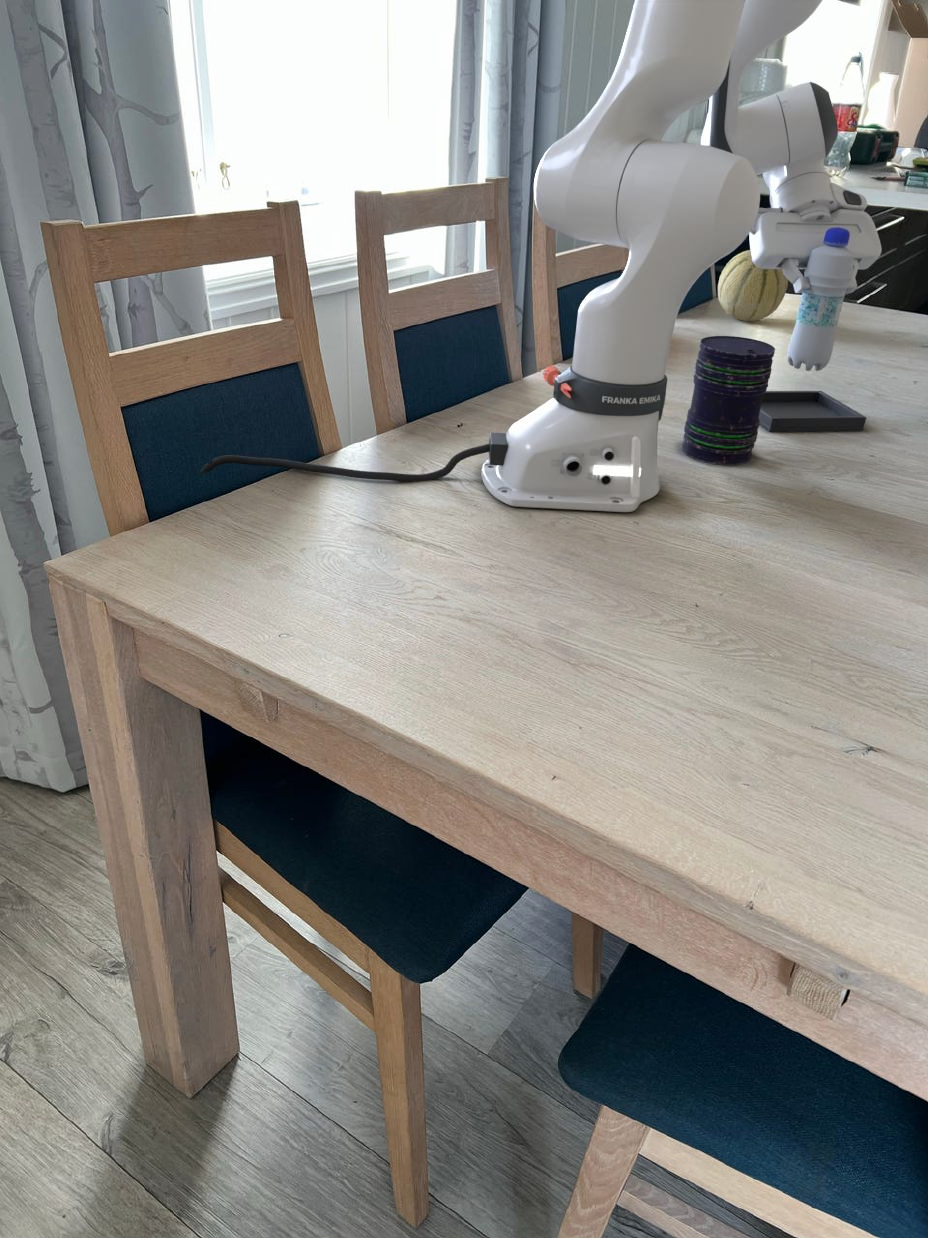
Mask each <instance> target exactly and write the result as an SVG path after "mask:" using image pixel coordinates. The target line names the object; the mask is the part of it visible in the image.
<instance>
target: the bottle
mask: <svg viewBox="0 0 928 1238" xmlns="http://www.w3.org/2000/svg"><path fill="white" fill-rule="evenodd" d="M849 237H850V233H849V231H848V230H847V229H844V228H840V227H835V228H830V229H828V230H827V231H826V233H825V237H824V242H823V243H824V244H825V245H823V246H820V247H818V248H815V249H813V250H812V252H811V255H810V258H809V261H808V264H807V266H806V269H804V272H803V277H808V278H809V283H810V289H809V290H807V292H806V293H801V298H800V303H799V307H798V310H797V316H796V319H795V324H794V328H793V332H792V334H791V338H790V342H789V345H788V350H787V354H786V355H787V362H788V364H789V365H790V366H791V367H794V369H797V370H800V368H801V366H802V364H803V365H805V371H806V372H807V371H808V372H810V371H812V369H813V368H814V370H815V371H816V372H818V371H822V370H823V369H824V368H826V367H827V365H828V364H829V363H830V360H831V358H832V355H833V349H834V344H835V339H836V333H837V329H838V323H839V320H840V315H841V312H842V308H843V304H844V300H845V296H846V293H845V292H846V290H847V289H848V287H849V286H850V285H849V283H850V280H851V278H852V272H853V263H854V253H852V252H851V251H850V250H849V249H847V248H846V247H845V246H847V245H848V242H849Z"/></svg>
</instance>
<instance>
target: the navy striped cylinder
mask: <svg viewBox="0 0 928 1238" xmlns="http://www.w3.org/2000/svg"><path fill="white" fill-rule="evenodd" d="M775 352H776V348H775V347H774V346H773V345H772V344H770V343H768V342H765V341H762V340H759V339H753V338H748V337H743V336H733V335H712V336H711V335H710V336H706V337H703V338H701V339H700V343H699V351H698V354H697V359H696V361H695V366H694V369H695V370H694V374H693V384H694V386H693V391H692V396H691V397H692V398H691V403H690V408H689V409H688V410H687V415H686V420H685V422H684V428H683V432H684V434H683V442H682V445H681V451H682V452H683V454H684V455H686V456H687V457H688V458H689V457H690V459H693V460H696V461H699V462H702V463H707V464H711V465H717V466H718V465H720V466H739V465H744V464H747V463H749V462H750V461H751V460H752V457H753V449H754V448H755V444H756V442H757V439H758V434H759V432H758V430H759V427H760V425H759V422H760V419H759V413H760V408H761V404H762V399H763V395H764V393H765V392H766V391H768V390H767V389H768V388H769V384H768V383H769V379H771V375H772V371H773V370H772V365H773V361H774V360H773V358H774V356H775Z"/></svg>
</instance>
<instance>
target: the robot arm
mask: <svg viewBox="0 0 928 1238" xmlns="http://www.w3.org/2000/svg"><path fill="white" fill-rule="evenodd" d="M822 2H823V0H634V1H633V6H632V11H631V15H630V18H629V21H628V22H629V23H628V26H627V30H626V34H625V37H624V41H623V44H622V47H621V51H620V54H619V57H618V59H617V63H616V64H615V65H616V66H615V68H614V71H613V73H612V75H611V77H610V79H609V81H608V83H607V85H606V87H605V89H604V90H603V92H602V94H601V95H600V97H599V98H598V99H597V101H596V102H595V104H594V105H593V106H592V108H591V109H590V110H589V112H588V113H587V114H586V116H584V118H583V119H582V120H580V122H579V123H578V124H577V125H576V126H575V127H574V128H573V129H572V130H571V131H570V132H568V133H567V134H565V135H564V136H563V137H560V138H559V139H558V140H556V141H555V142H553V143H552V144H551V145H550V147H548V149H547V150H546V151H545V153H544V154H543V156H542V158H541V159H540V162H539V164H538V166H537V169H536V172H535V176H534V181H533V199H534V203H535V207H536V208H535V209H536V211H537V214H538V216H539V218H540V219H541V221H542V222H543V224H544V225H545V226H546V227H547V228H550V229H552V230H555V231H556V232H558V233H561V234H563V235H566V236H568V237H570V238H573V239H574V240H575V239H576V240H578V241H581V242H586V243H594V244H600V245H605V246H612V247H617V248H624V249H628V250H629V252H628V259H627V262H626V265H625V268H624V270H623V272H622V274H621V275H620V277H618V278H615V279H612V280H610V281H608V282H605V283H603V284H601V285H599V286H597V287H595V288H594V289H592V290H591V291H589V292H588V294H587V295H586V296H585V298H584V299H583V300H582V301H581V303H580V305H579V307H578V310H577V319H576V328H575V336H574V345H573V355H572V363H571V365H570V366H569V367H568V368H566V369H565V370H564V371H563V372H561V371H560V370H559V368H557V367H556V366H554V365H549V366H547V367H546V368H545V369H544V370H543V372H544V373H542V378H543V379H544V380H545V382H546V383H547V384H548V385H549V386H551V387H553V394H552V395H553V396H552V398H550V399H549V400H547V401H546V402H545V403H543V404H542V405H540V406H538V407H537V408H536V409H534V410H533V411H532V412H530V413H528V414H526V415H525V416H524V417H522V418H521V419H519V420H518V421H515V422H514V423H513V424H511V426H510V427H509V428H508V430H507V432H489V439H488V440H489V441H488V443H486V444H482V445H478V446H474V447H469V448H467V449H464V450H461V451H460V452H458V453H456V454H455V455H453V456H452V457H451V458H450V459H449V461H448V462H447V464H446V465H445V466H444V467H442V468H441V469H438V470H436V471H432V472H427V473H419V474H418V473H417V474H409V473H398V472H384V471H367V470H358V469H350V468H344V467H337V466H329V465H321V464H314V463H307V462H301V461H295V460H288V459H282V458H271V457H270V458H269V457H253V456H252V457H251V456H245V455H237V454H236V455H234V454H227V455H226V454H225V455H219V456H217V457H215V458H212V459H213V460H212V459H211V460H212V464H208V462H206V463H205V464H204V465H203V466H202V467H201V469H200V470H199V472H200V473H203V474H204V473H209V472H211V471H212V470H213V469H215V468H216V467H219V466H220V465H223V464H239V465H240V464H242V465H249V466H262V467H265V466H266V467H276V468H285V469H292V470H298V471H303V472H304V471H305V472H309V473H310V472H311V473H319V474H325V475H332V476H338V477H339V476H340V477H346V478H353V479H363V480H375V481H394V482H405V483H411V482H412V483H414V482H426V481H435V480H439V479H442V478H444V477H446V476H448V475H449V474H450V473H451V472H453V470H454V469H455V467H456V466H457V465H458V464H459V463H460V462H461V461H463V460H466V459H467V458H471V457H474V456H477V455H482V454H486V453H488V459H486V460H485V461H484V462H483V464H482V467H481V474H480V475H481V481H482V482H483V485H484V486H485V488H486V490H487V491H488V492H489V493H490V494H491V495H492V496H493V497H494V498H496V500H498V501H500V502H502V503H504V504H506V505H508V506H512V507H517V508H536V509H538V508H539V509H555V510H573V511H575V510H576V511H595V512H596V511H597V512H614V513H615V512H616V513H631V512H634V511H636V510H637V509H638V508H639V506H640V504H642V503H643V502H646V501H648V500H650V499H652V498H654V497H655V496H656V495H658V494H659V493H660V490H661V486H660V478H659V469H658V467H659V466H658V432H659V422H660V421H661V420H662V417H663V411H664V407H665V403H666V398H667V397H666V396H667V386H668V376H667V375H666V370H667V362H668V357H669V352H670V347H671V344H672V338H673V333H674V330H675V325H676V321H677V318H678V314H679V312H680V309H681V307H682V305H683V302H684V300H685V298H686V296H687V295H688V293H689V291H690V290H691V288H692V287H693V285H694V284H695V283H696V282H697V280H698V279H699V278H700V277H701V276H702V275H703V273H704V272H706V271H707V270H708V269H709V268H710V267H711V266H712V265H714V264H715V263H717V262H718V261H719V260H721V259H723V258H725V257H726V256H728V255H730V254H731V253H733V252H734V251H735V250H736V249H738V247H739V246H741V244H742V243H744V242H745V240H746V239H747V237H748V236H749V250H751V256H752V261H753V263H754V264H755V265H756V266H757V267H758V268H759V269H782V272H783V275H784V276H785V277H786V278H787V279H788V282H790V283H791V284H792V286H793V290H794V293H795V294H802V293H806V292H807V290H809V289H810V283H809V278H808V277H804V274H803V273H802V272H801V271H800V270H805V269H806V266H807V264H808V261H809V258H810V255H811V252H812V250H813V249H815V248H818V247H820V246H823V245H825V244H824V243H823V242H824V237H825V233H826V231H827V230H828V229H830V228H835V227H840V228H844V229H847V230H848V231H849V233H850V237H849V242H848V245H847V246H845V247H846V248H847V249H849V250H850V251H851V252H852V253H854V263H853V272H852V278H851V280H850V283H849V285H850V286H849V287H848V289H847V290H846V292H845V294H852V293H853V292H855V291H856V290H857V288H858V283H857V280H856V277H857V275H858V270H867V269H869V268H870V267H871V266H872V265H873V264H874V263H875V262H877V260H879V258H880V256H881V254H882V244H881V240H880V236H879V233H878V230H877V227H876V225H875V222H874V220H873V218H872V217H871V215H870V214H868V212H866V211H865V210H866V208H867V207H868V201H867V198H866V197H865V195H863V194H860V193H857V192H856V191H855V192H854V191H852V190H849V189H847V188H844V187H843V186H840V185H839V184H837V183H835V182H832V180H831V177H830V175H829V173H828V172H827V171H826V168H825V166H824V164H825V163H824V162H825V159H827V157H828V156H829V155H830V153H831V151H832V149H833V147H834V145H835V143H836V141H837V139H838V134H839V125H838V120H837V116H836V113H835V110H834V106H833V103H832V100H831V96H830V92H829V91H827V89H825V88H824V87H823V86H821V85H819V84H818V83H815V82H812V81H809V82H804V83H800V84H797V85H794V86H791V87H789V88H786V89H782V90H780V91H778V92H777V91H776V92H775V93H773V94H771V95H769V96H768V95H767V96H765V97H763V98H760V99H757V100H755V101H752V102H749V103H746V104H743V105H740V97H741V88H742V78H743V76H744V73H745V72H746V70H747V69H748V67H749V66H751V64H752V63H753V62H754V61H755V60H756V59H757V58H758V57H759V56H760V55H762V54H763V53H764V52H765V51H767V50H768V49H769V48H771V47H772V46H773V45H774V44H776V43H777V42H779V41H781V40H782V39H783V38H784V37H786V36H787V35H789V34H791V33H792V32H794V31H795V30H797V29H798V28H800V26H802V25H803V24H804V23H805V22H807V20H808V19H809V18H810V17H811V16H812V15H813V14H814V13H815V11H816V10H817V8H818V7H819V6H820V5H821V3H822ZM703 103H705V111H704V112H705V113H704V119H703V124H702V131H701V138H700V144H699V143H688V142H677V141H667V140H662V139H663V138H664V136H665V134H666V132H667V131H668V129H669V128H670V127H671V126H672V124H673V123H674V122H675V121H676V120H677V119H678V118H679V117H680V116H682V115H683V114H684V113H686V112H687V111H689V110H691V109H693V108H695V107H697V106H699V105H702V104H703ZM759 175H762V177H763V180H764V183H765V185H766V186H767V187H768V189H769V204H770V207H766V208H764V207H760V204H761V203H760V202H761V189H760V183H759V179H758V176H759Z"/></svg>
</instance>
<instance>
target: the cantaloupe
mask: <svg viewBox="0 0 928 1238" xmlns="http://www.w3.org/2000/svg"><path fill="white" fill-rule="evenodd" d="M788 285H789V280H788V279H787V278H786V277H785V276H784V275H783V272H782V269H759V268H758V267H757V266H756V265H755V264H754V263H753V261H752V256H751V250H750V249H748V250H745V251H742V252H740V253H738V254H736V255H735V256H733V257H732V258H731V259H730V260H729V261H728V262H727V263H726V265H725V266H724V268H723V269H722V271H721V274H720V275H719V280H718V284H717V298H718V301H719V304H720V306H721V307H722V308H723V310H724V311H725V312H726V313H727V314H728V315H729V316H730V317H733V318H735V319H736V320H740V321H747V322H753V321H755V322H756V321H759V320H762V319H764V318H767V317H769V316H770V315H772V314H773V313H774V312H776V310H778V308H779V307H780V305H781V303H782V301H784V297H785V296H786V293H787V289H788Z"/></svg>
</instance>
